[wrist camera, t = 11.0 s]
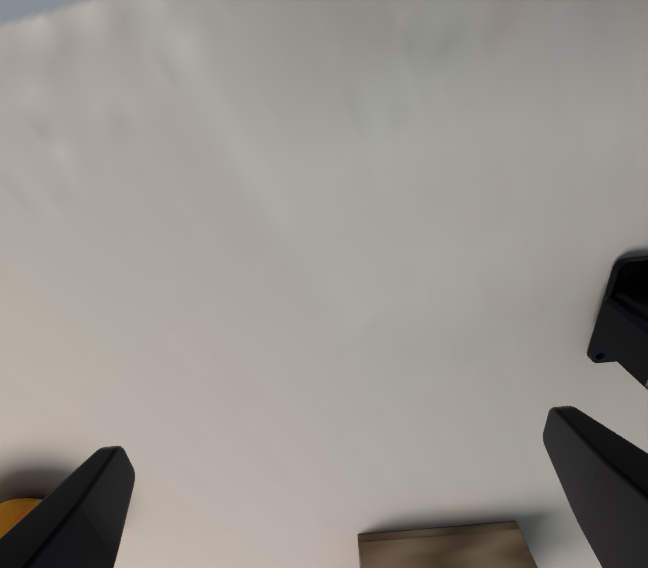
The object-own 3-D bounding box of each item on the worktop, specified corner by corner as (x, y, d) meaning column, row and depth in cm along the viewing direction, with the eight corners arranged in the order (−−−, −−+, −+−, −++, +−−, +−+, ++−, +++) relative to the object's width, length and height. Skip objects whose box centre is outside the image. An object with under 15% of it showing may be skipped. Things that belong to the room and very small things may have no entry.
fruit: (-109, 524, 23) (-135, 705, 19) (58, 467, 26) (65, 615, 22) (-24, 531, 30) (-30, 664, 26) (100, 486, 32) (111, 600, 29)
